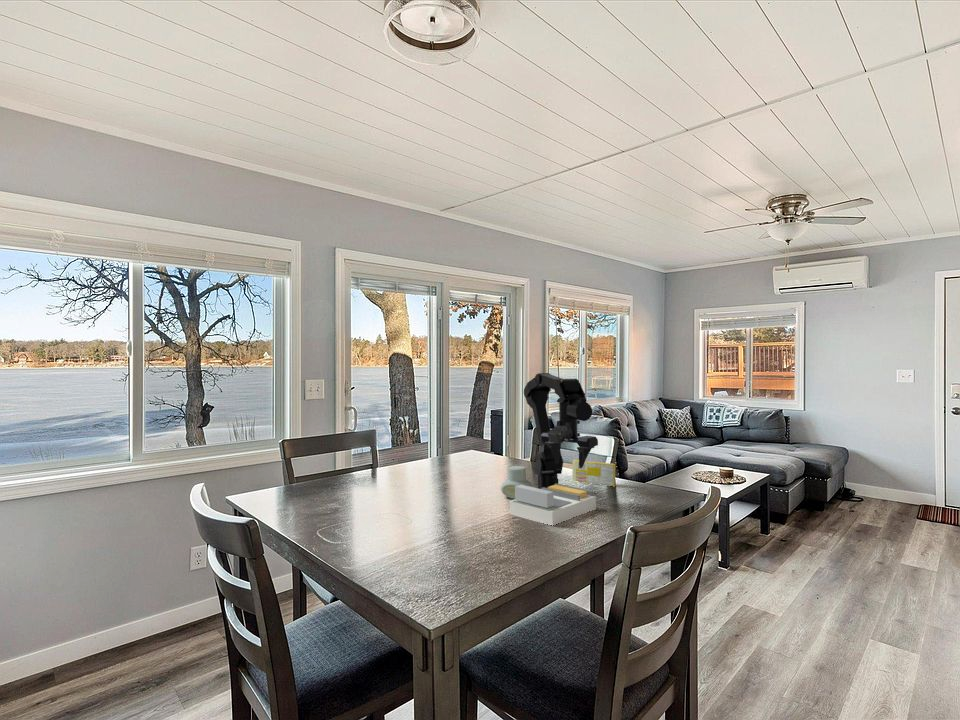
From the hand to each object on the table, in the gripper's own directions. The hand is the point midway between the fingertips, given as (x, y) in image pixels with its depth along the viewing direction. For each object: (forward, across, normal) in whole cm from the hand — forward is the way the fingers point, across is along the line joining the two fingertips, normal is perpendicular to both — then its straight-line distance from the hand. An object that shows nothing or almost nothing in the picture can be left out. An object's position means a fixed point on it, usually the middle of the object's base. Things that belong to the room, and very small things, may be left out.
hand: (568, 465), depth 164 cm
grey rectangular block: (+7, +2, -20) cm, 22 cm away
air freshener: (+12, -17, -6) cm, 22 cm away
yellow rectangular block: (+8, +2, -4) cm, 9 cm away
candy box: (+12, -8, +27) cm, 31 cm away
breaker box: (+12, +2, -11) cm, 16 cm away
